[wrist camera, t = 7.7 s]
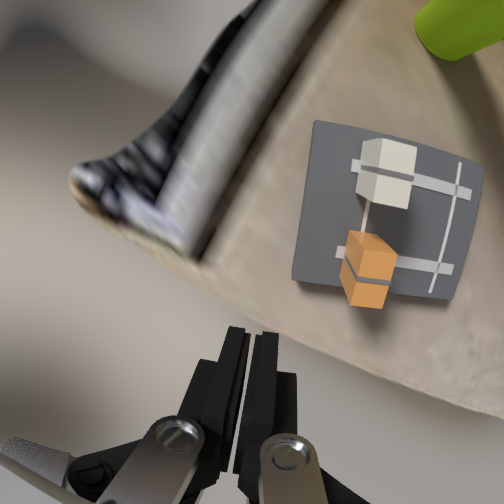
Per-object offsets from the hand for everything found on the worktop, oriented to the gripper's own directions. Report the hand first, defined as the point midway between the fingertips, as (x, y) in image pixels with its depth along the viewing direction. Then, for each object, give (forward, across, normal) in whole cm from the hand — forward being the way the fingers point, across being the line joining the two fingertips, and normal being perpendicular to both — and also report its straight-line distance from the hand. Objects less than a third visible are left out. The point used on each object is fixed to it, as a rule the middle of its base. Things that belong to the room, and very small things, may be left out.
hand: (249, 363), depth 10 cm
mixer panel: (+17, -10, -4) cm, 20 cm away
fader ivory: (+15, -7, -7) cm, 18 cm away
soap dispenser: (+17, -13, -22) cm, 31 cm away
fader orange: (+15, -7, 0) cm, 16 cm away
